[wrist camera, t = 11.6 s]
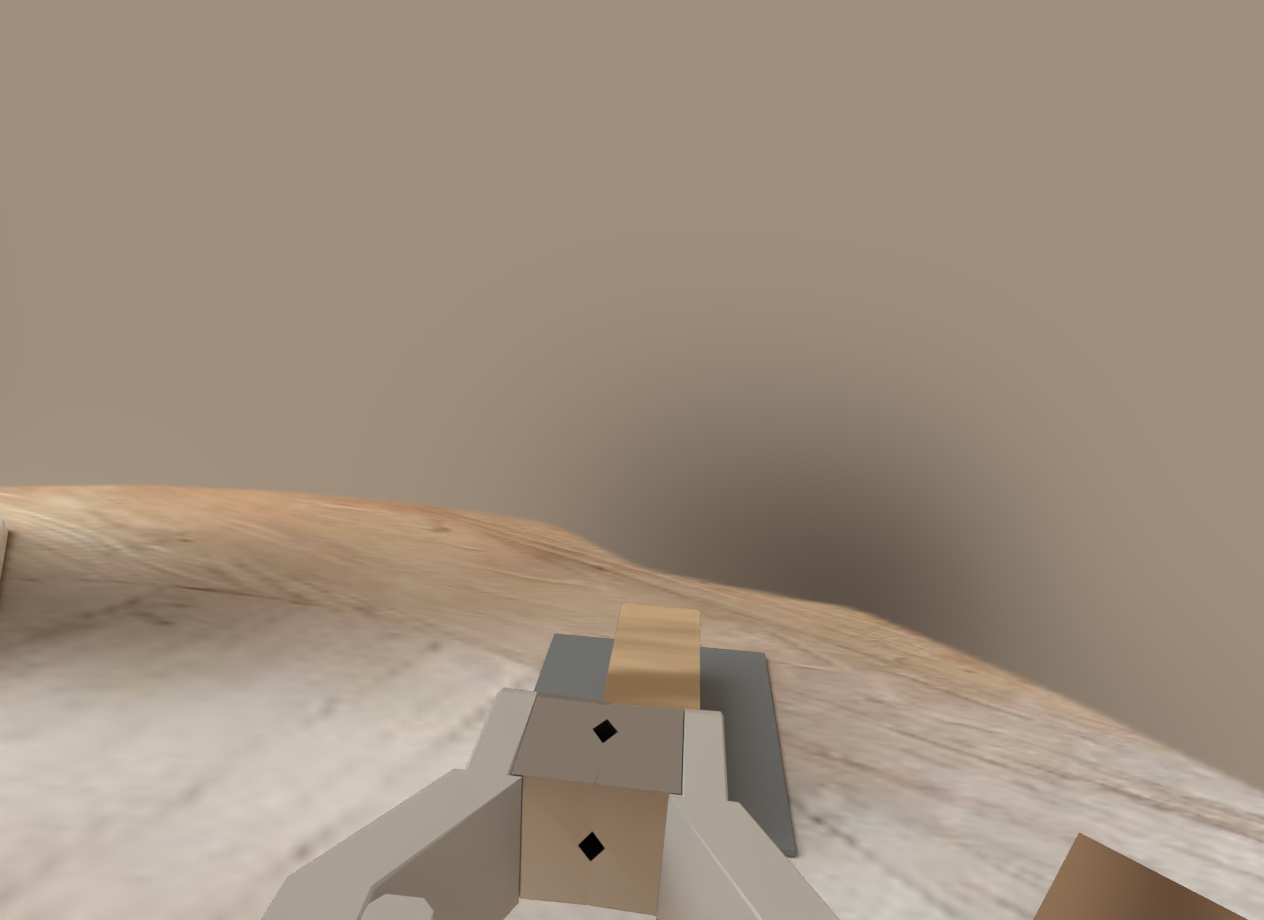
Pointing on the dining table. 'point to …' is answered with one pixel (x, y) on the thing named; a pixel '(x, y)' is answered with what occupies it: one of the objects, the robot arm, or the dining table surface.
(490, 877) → the robot arm
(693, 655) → the oak block
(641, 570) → the dining table surface
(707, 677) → the felt mat
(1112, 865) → the walnut cube
